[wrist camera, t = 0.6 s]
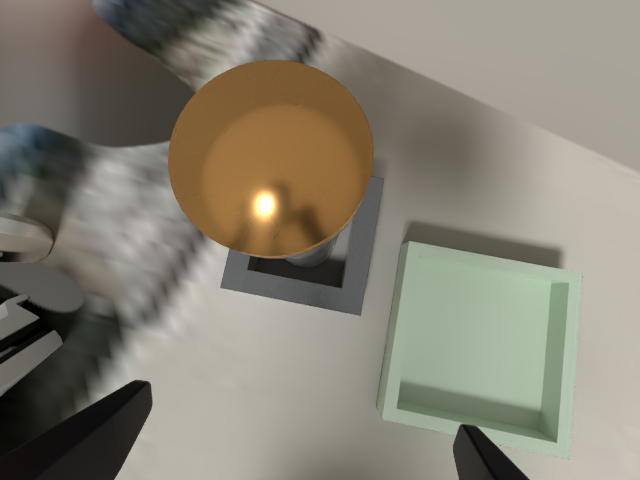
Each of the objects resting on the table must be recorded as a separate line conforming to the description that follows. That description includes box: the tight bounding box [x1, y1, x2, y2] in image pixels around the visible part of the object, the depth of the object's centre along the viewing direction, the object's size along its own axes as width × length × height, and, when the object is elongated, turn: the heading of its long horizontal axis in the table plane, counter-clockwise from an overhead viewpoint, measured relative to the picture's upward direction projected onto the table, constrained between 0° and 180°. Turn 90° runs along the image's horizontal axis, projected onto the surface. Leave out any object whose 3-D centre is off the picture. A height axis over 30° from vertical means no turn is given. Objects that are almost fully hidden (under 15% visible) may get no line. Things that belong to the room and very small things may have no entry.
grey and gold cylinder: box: [168, 60, 373, 267], centre depth 16 cm, size 6×6×15 cm
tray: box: [376, 241, 582, 460], centre depth 21 cm, size 12×12×2 cm
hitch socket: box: [220, 177, 384, 316], centre depth 22 cm, size 10×10×2 cm
